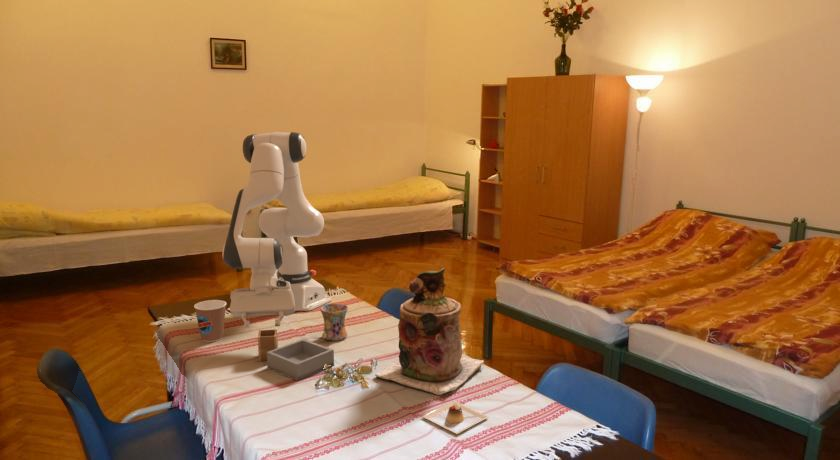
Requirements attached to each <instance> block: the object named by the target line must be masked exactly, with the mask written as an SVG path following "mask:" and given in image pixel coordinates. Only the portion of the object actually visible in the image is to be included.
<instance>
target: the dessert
mask: <svg viewBox="0 0 840 460" xmlns="http://www.w3.org/2000/svg"><path fill="white" fill-rule="evenodd" d="M447 410H448V411H447ZM444 411H447V414H446V417H445V420H446V422H449V423H452V424H459V423H463V421H464V420H465V417H464V413H463V411H464V412H467V413H469V414H471V415H472V416H475V417H477V418H479V420H477V421H475V422H473V423H470V425H468V426H466V427H463V428H462V429H460V430H458V431H455V430H454V429H453V430H452V429H451V428H449V427H447V426H445V425H443V424H440V423H438V422H436V421H435V420H432V419H431V418H432V417H434V416H436V415H438V414H441V413H442V412H444ZM421 418H424V419H426V420H428V421H430V422H431V423H434V424H435V425H437V426H439V427H441V428H443V429H445V430H447V431H450V432H451V433H453V434H456V435H458V434H460V433H462V432H464V431H466V430H467V429H468V430H469V428H471V427H474V426H475V425H477V424H478V423H479V424H480V422H481V423H482V421H484V420H487V419H488V418H489V416H488V415H486V414H483V413H481V412H479V411H477V410H475V409H472V408H471V407H469V406H467V405H464V404H461V403H460V402H458V401H455V400H451V401H450V402H448V403H446V404H444V405H442V406H440V407H438V408H436V409H434V410H432V411H429V412H427V413H426V414H423V415H421Z"/></svg>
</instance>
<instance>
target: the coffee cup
mask: <svg viewBox="0 0 840 460" xmlns="http://www.w3.org/2000/svg"><path fill="white" fill-rule="evenodd" d="M226 306H227V301H225V300H221V299H208V300H203V301H199V302H196V303H195V304H194V305H193V307H194V309H195V310H194V311H195V314H196V321H197V327H198V330H199V334H200V338H201V340H202V342H206V343H214V342H218V341H220V340H222V339H223V338H224V334H225V324H226V322H225V321H226Z"/></svg>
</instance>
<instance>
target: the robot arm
mask: <svg viewBox="0 0 840 460" xmlns="http://www.w3.org/2000/svg"><path fill="white" fill-rule="evenodd" d="M307 149H308V148H307V143H306V139H305V137H304V136H303V135H302V134H301V133H299V132H294V131H291V132H287V131H285V132H284V131H273V132H267V133H266V132H264V133H253V134H250V135H247V136H246V137H245V138H244V139H243V142H242V153H243V157H244V160H246V161H247V162H248V163H249V164H250V167H249V179H248V182H247V183H246V185H245V187H244V188H241V189H240V190H239V192H238V193H237V196H236V200H235V203H234V208H233V211H232V216H231V220H230V224H229V228H228V233H227V237H226V240H225V242H224V245H223V247H222V248H223V249H222V253H221V254H222V261H223V263H224V264H225V265H226V266H228V267H229V268H230V269H234V270H236V269H243V268H244V269H245V268H247V269H248V268H250V271H251V276H250V282H249V283H250V284H249V287H248V288H247V287H246V288H245V287H244V288H236V289H234V290H232V291H231V293H230V297H229V298H230V300H231V301H230V306H229V313H230V314H231V315H232V316H233V317H241V320H242V322H244V324H243V326H244V329H246V328H248V329H249V328H250V325H251V324H250V323H251V322H250V320H247V317H250V316H271V315H272V316H275V315H277V316H278V315H279V316H278V318H276V319H274V322H275V323H274V326H275V327H281V322H282V321H283V319H284V317H285V315H293V314H294V313H295V312H302V311H305V312H308V311H310V312H311V311H312V310H314V309H316V308H319V307H322V306H324V305H327V304H329V303H330V302H332V297H330V296H329V295H327V294H326V290H325V287H324V286H323V285H322V284H321V283H320V282H318V281H316V280H315V279H313V278H312V276H316V275H317V271H316V270H314V269H311V270H310V269H308V253H307V250H306V249H305V247H303V246H302V245H300V244H298V243H297V242H296V240H295V239H294V238H296V237H298V238H310V237H317V236H319V235H320V234H321V233H322V232H323V230H324V226H325V218H324V216H323V214H322V213H321V212H320V211H319V210H317V209H316V208H315V207H314V206H312V204H311V203H310V202H309V201H308V200H309V199H307V197H306V196H305V193H304V190H303V186H302V181H301V172H300V167H299V162H301V161H303V160H304V159H305V158H306V154H307ZM275 200H277V201H278V202H280V203H282V204H283V206H285V207H277V206H276V207H270V208H265V209H263V210H262V211H261V213H260V214H259V217H258V226H259V229H260V232H262V233H263V234H265V235H266V236H267V237H243V236H242V233H243V228H244V225H245V220H246V219H245V218H246V216H247V213H248V212H249V211H250V210H253V209H254V208H257V207H259V206H262V205H266V204H269V203H270V202H272V201H275Z"/></svg>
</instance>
